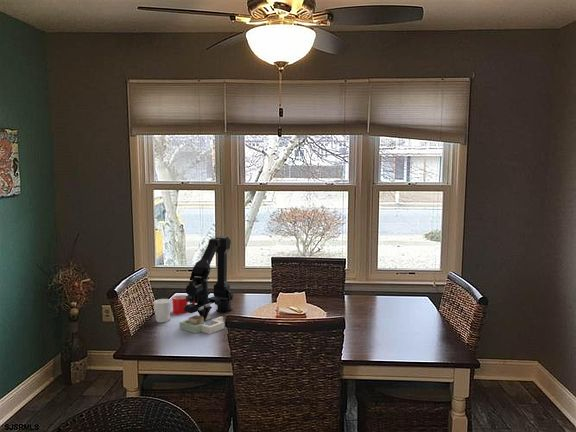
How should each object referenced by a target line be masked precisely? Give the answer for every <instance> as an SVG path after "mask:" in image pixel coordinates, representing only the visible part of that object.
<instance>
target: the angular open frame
mask: <svg viewBox="0 0 576 432" xmlns="http://www.w3.org/2000/svg"><path fill="white" fill-rule="evenodd" d="M210 314H211V313H210V312H209V313H208V315H207V318H206V320H205V321H208V320H210V325H208V324H205V323H204V324H202V323H201V324H198V325H196V326H195V325H192V324H189V318H187V319H184V320H182V321H179V329H181V330H184V331H187V332H190V333H194V334H198V333H200V332H202V333H206V334H209V335H211V334H213V333H217V332H218V331H221V330H223V329H225V322H224V316H218V317H215V318H213V319H211V315H210ZM198 316H200V315H198Z"/></svg>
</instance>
